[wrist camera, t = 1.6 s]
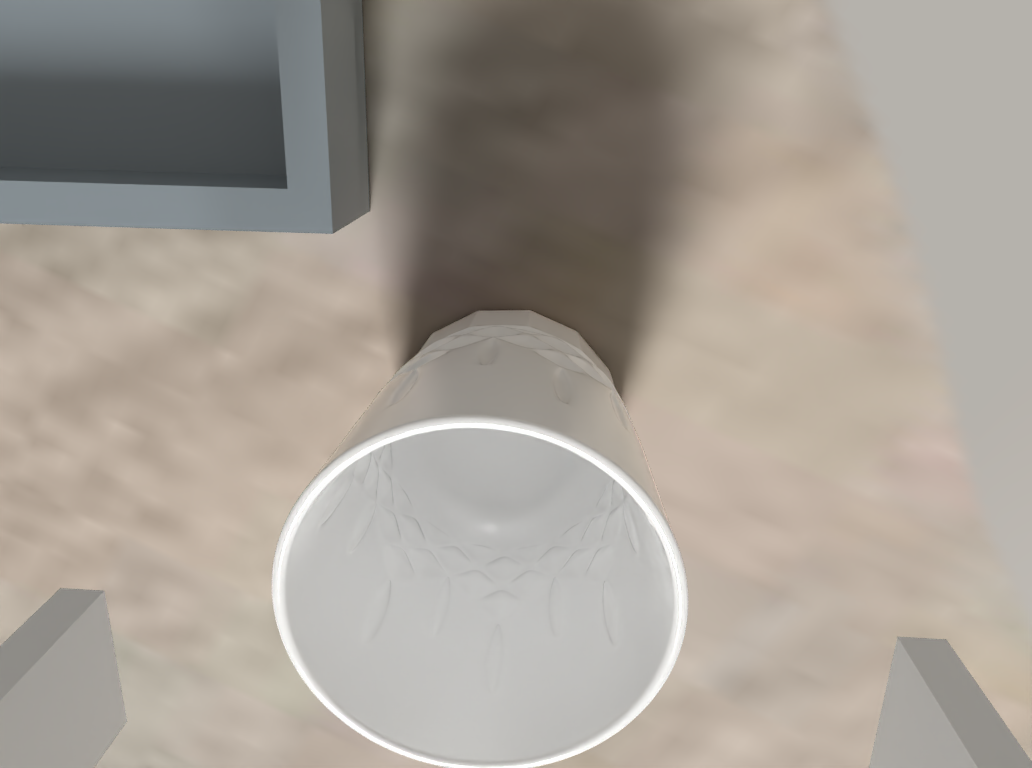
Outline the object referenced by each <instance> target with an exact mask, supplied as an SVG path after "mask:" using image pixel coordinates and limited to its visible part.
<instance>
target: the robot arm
mask: <svg viewBox="0 0 1032 768" xmlns="http://www.w3.org/2000/svg"><path fill="white" fill-rule="evenodd" d="M126 722H127V719H126V713H125V707H124V702H123V696H122V690H121V684H120V679H119V673H118V667H117V661H116V655H115V650H114V644H113V638H112V632H111V626H110V621H109V615H108V609H107V603H106V598H105V592H104V591H100V590H83V589H65V588H60V589H59V590H58V591H57V592H56V593H55V594H54V595H53V596H52V597H51V598H50V599H49V600H48V601H47V602H46V603H45V604H43V605H42V606H41V607H40V608H39V609H38V610H37V611H36V612H35V613H34V614H33V615H32V616H31V617H30V618H29V619H28V620H27V621H26V622H25V623H24V624H23V625H22V626H21V627H20V628H18V629H17V630H16V631H15V632H14V633H13V634H12V635H11V636H10V637H9V638H8V639H7V640H6V641H5V642H4V643H3V644H2V645H1V646H0V768H94V767H95V766H96V764H97V763H98V761H99V760H100V759H101V757H102V756H103V754H104V753H105V751H106V750H107V749H108V747H109V746H110V744H111V743H112V742H113V740H114V739H115V737H116V736H117V735H118V733H119V732H120V730H121V729H122V728H123V726H124V725H125V723H126ZM869 768H1032V761H1031V760H1030V758H1029V757H1028V756H1027V754H1026V753H1025V751H1024V750H1023V748H1022V747H1021V746H1020V744H1019V743H1018V741H1017V740H1016V738H1015V737H1014V736H1013V734H1012V733H1011V731H1010V730H1009V728H1008V727H1007V726H1006V724H1005V723H1004V721H1003V720H1002V718H1001V717H1000V716H999V714H998V713H997V711H996V710H995V708H994V707H993V706H992V704H991V703H990V701H989V700H988V698H987V697H986V696H985V694H984V693H983V691H982V690H981V688H980V687H979V686H978V684H977V683H976V681H975V680H974V678H973V677H972V676H971V674H970V673H969V671H968V670H967V668H966V667H965V665H964V664H963V663H962V661H961V660H960V658H959V657H958V655H957V654H956V653H955V651H954V650H953V648H952V647H951V645H950V644H949V643H948V641H947V640H946V639H928V638H911V637H897V642H896V646H895V651H894V655H893V660H892V664H891V669H890V674H889V678H888V683H887V687H886V692H885V696H884V701H883V706H882V710H881V715H880V719H879V724H878V728H877V733H876V738H875V742H874V747H873V751H872V756H871V760H870V765H869Z"/></svg>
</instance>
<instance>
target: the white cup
mask: <svg viewBox="0 0 1032 768" xmlns="http://www.w3.org/2000/svg"><path fill="white" fill-rule="evenodd" d="M272 601H273V608H274V614H275V619H276V623H277V627H278V630H279V633H280V636H281V639H282V642H283V644H284V647H285V649H286V651H287V653H288V655H289V657H290V659H291V661H292V663H293V665H294V667H295V668H296V670H297V672H298V673H299V675H300V676H301V678H302V679H303V680H304V682H305V683H306V685H307V686H308V687H309V688H310V690H311V691H312V692H313V693H314V694H315V696H316V697H317V698H318V699H319V700H320V701H321V702H322V703H323V704H324V705H325V706H326V707H327V708H328V709H329V710H330V711H331V712H332V713H333V714H334V715H336V716H337V717H338V718H339V719H340V720H342V721H343V722H344V723H345V724H347V725H348V726H349V727H351V728H352V729H354V730H355V731H357V732H358V733H360V734H361V735H363V736H364V737H366V738H368V739H369V740H371V741H373V742H375V743H377V744H379V745H381V746H383V747H385V748H387V749H389V750H391V751H394V752H396V753H398V754H401V755H403V756H406V757H409V758H412V759H415V760H418V761H421V762H425V763H429V764H433V765H437V766H442V767H447V768H532V767H537V766H542V765H546V764H550V763H554V762H557V761H560V760H563V759H566V758H569V757H572V756H574V755H577V754H579V753H582V752H584V751H586V750H588V749H590V748H592V747H594V746H596V745H598V744H600V743H601V742H603V741H605V740H606V739H608V738H610V737H611V736H613V735H614V734H616V733H617V732H618V731H620V730H621V729H622V728H624V727H625V726H626V725H628V724H629V723H630V722H631V721H632V720H633V719H635V718H636V717H637V716H638V715H639V714H640V713H641V712H642V711H643V710H644V709H645V708H646V707H647V705H648V704H649V703H650V702H651V701H652V700H653V698H654V697H655V696H656V695H657V693H658V692H659V690H660V689H661V688H662V686H663V685H664V683H665V681H666V680H667V678H668V676H669V674H670V673H671V671H672V669H673V667H674V664H675V662H676V660H677V657H678V655H679V652H680V649H681V646H682V643H683V639H684V635H685V630H686V624H687V616H688V586H687V578H686V572H685V568H684V563H683V559H682V556H681V553H680V550H679V547H678V544H677V541H676V539H675V536H674V533H673V530H672V528H671V525H670V522H669V520H668V517H667V514H666V511H665V508H664V506H663V503H662V500H661V497H660V494H659V491H658V489H657V486H656V483H655V480H654V477H653V474H652V472H651V469H650V466H649V463H648V460H647V457H646V455H645V452H644V449H643V447H642V444H641V442H640V440H639V437H638V435H637V433H636V430H635V428H634V426H633V423H632V421H631V418H630V416H629V413H628V411H627V408H626V406H625V405H624V403H623V401H622V399H621V397H620V395H619V394H618V392H617V390H616V389H615V386H614V383H613V380H612V376H611V373H610V371H609V369H608V368H607V366H606V365H605V364H604V363H603V362H602V361H601V359H600V358H599V357H598V356H597V355H596V353H595V352H594V351H593V350H592V349H591V347H590V346H589V345H588V344H587V343H586V341H585V340H584V339H583V338H582V337H581V335H580V334H579V333H578V332H577V331H575V330H573V329H571V328H569V327H567V326H564V325H562V324H560V323H558V322H555V321H553V320H551V319H549V318H547V317H544V316H542V315H540V314H538V313H535V312H533V311H531V310H491V311H476V312H474V313H472V314H470V315H468V316H466V317H464V318H462V319H460V320H458V321H456V322H454V323H452V324H450V325H448V326H446V327H444V328H442V329H440V330H438V331H436V332H434V333H432V334H431V336H430V337H429V338H428V339H427V341H426V342H425V343H424V345H423V346H422V347H421V349H420V350H419V351H418V353H417V354H416V355H415V356H414V357H413V358H412V359H411V360H409V361H408V362H407V363H406V364H405V365H403V366H402V367H401V368H400V369H399V370H398V371H397V372H396V373H395V375H394V376H393V377H392V379H391V380H390V381H389V382H388V383H387V384H386V385H385V386H384V387H383V388H382V389H381V391H380V392H379V393H378V394H377V396H376V397H375V399H374V400H373V401H372V403H371V404H370V405H369V407H368V408H367V409H366V411H365V412H364V413H363V415H362V416H361V417H360V418H359V420H358V421H357V422H356V423H355V425H354V426H353V427H352V428H351V430H350V431H349V432H348V434H347V435H346V436H345V438H344V439H343V440H342V442H341V443H340V444H339V446H338V447H337V448H336V450H335V451H334V452H333V454H332V455H331V456H330V458H329V459H328V460H327V461H326V463H325V464H324V465H323V467H322V468H321V469H320V470H319V472H318V473H317V474H316V476H315V477H314V478H313V480H312V481H311V482H310V483H309V485H308V486H307V487H306V488H305V490H304V491H303V492H302V494H301V495H300V497H299V498H298V500H297V501H296V503H295V504H294V506H293V508H292V509H291V511H290V513H289V515H288V517H287V519H286V521H285V524H284V526H283V528H282V531H281V534H280V537H279V540H278V543H277V547H276V551H275V556H274V562H273V569H272Z"/></svg>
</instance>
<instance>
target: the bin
mask: <svg viewBox="0 0 1032 768" xmlns="http://www.w3.org/2000/svg"><path fill="white" fill-rule="evenodd" d="M369 211H370V203H369V176H368V149H367V122H366V96H365V69H364V42H363V15H362V0H0V223H7V224H39V225H71V226H103V227H134V228H166V229H198V230H230V231H261V232H293V233H325V234H333V233H335V232H336V231H338V230H340V229H341V228H343V227H345V226H346V225H348V224H349V223H351V222H353V221H354V220H356V219H358V218H359V217H361V216H362V215H364V214H366V213H367V212H369Z"/></svg>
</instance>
